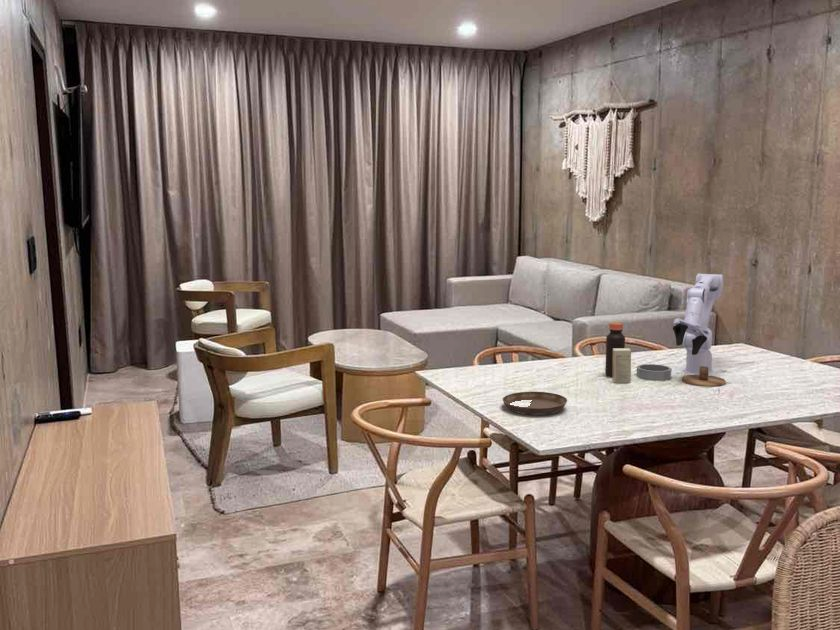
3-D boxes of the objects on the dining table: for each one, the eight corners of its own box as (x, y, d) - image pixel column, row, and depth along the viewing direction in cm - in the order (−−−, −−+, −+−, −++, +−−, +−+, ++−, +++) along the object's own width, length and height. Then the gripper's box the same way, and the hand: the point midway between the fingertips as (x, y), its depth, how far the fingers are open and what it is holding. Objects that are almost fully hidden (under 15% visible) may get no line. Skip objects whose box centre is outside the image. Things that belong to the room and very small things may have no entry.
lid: (699, 374, 293) (700, 361, 292) (734, 382, 281) (735, 368, 280) (672, 380, 285) (673, 366, 284) (707, 388, 273) (708, 374, 272)
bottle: (627, 376, 293) (629, 324, 290) (612, 378, 291) (614, 325, 288) (616, 372, 300) (618, 321, 296) (601, 374, 297) (603, 322, 294)
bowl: (652, 373, 299) (652, 362, 298) (677, 379, 289) (678, 368, 288) (630, 377, 293) (630, 366, 292) (655, 383, 283) (655, 372, 282)
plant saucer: (489, 410, 251) (489, 400, 251) (524, 396, 267) (525, 387, 266) (545, 422, 238) (545, 411, 238) (578, 407, 254) (579, 397, 253)
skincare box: (629, 380, 288) (630, 348, 286) (630, 383, 284) (632, 350, 282) (611, 380, 288) (612, 347, 286) (612, 383, 284) (614, 350, 282)
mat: (699, 376, 293) (699, 375, 293) (732, 384, 281) (732, 382, 281) (674, 381, 285) (674, 380, 285) (707, 389, 274) (707, 388, 273)
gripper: (686, 305, 280) (680, 337, 275) (715, 323, 285) (710, 355, 279) (672, 310, 286) (665, 342, 281) (701, 327, 291) (695, 359, 285)
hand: (686, 349), depth 280 cm, fingers open, 7 cm apart
